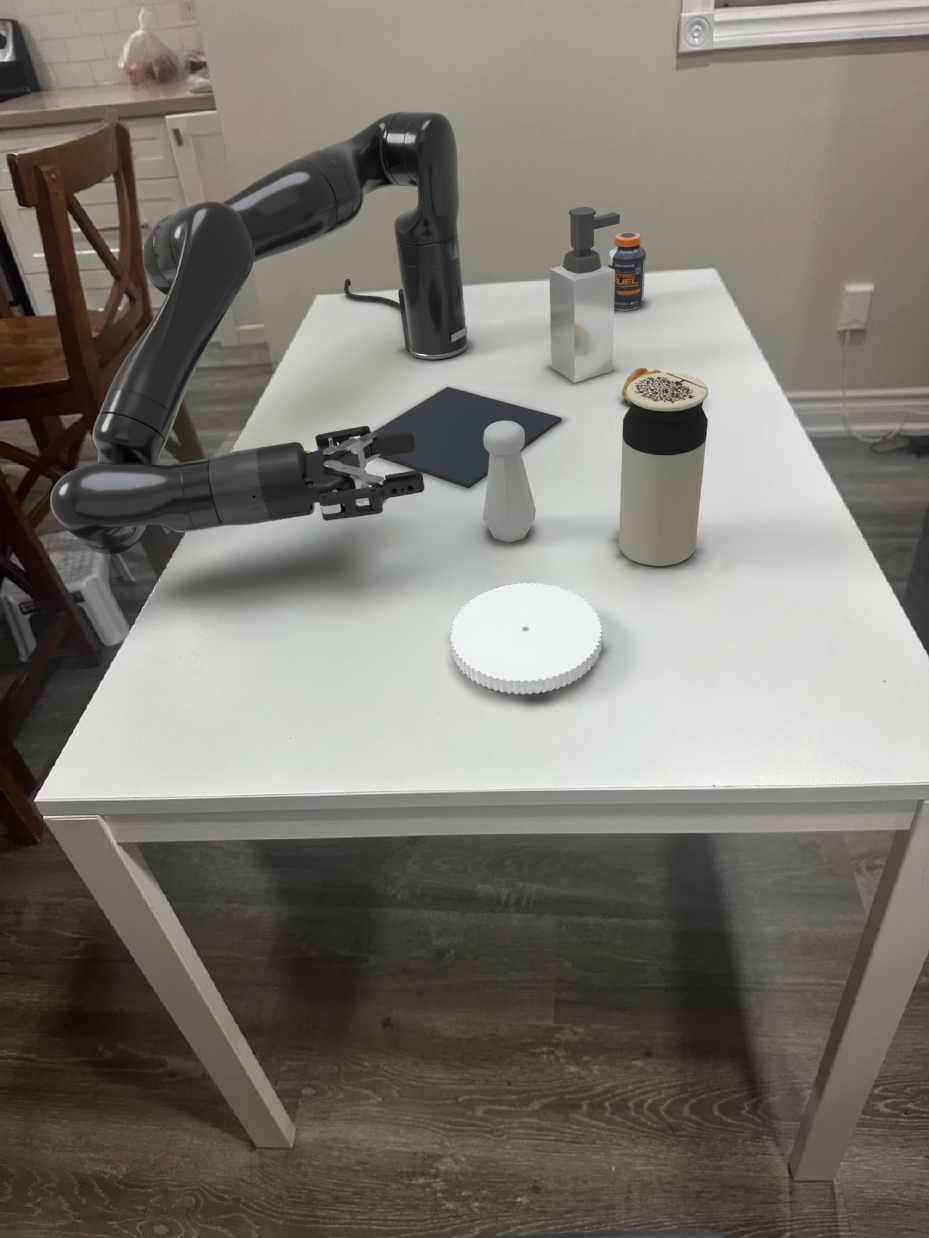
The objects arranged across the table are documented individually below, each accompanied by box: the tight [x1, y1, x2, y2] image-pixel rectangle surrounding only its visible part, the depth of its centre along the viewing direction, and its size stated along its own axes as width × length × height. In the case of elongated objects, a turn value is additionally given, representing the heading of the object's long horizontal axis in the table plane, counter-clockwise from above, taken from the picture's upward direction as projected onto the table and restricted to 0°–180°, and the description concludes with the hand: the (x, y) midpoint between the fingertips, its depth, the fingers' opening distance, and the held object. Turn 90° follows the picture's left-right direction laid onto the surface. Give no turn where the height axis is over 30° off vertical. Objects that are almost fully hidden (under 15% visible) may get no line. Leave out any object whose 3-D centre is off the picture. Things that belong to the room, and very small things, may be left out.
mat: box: [364, 386, 562, 489], centre depth 116 cm, size 20×20×1 cm
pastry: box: [621, 367, 663, 404], centre depth 116 cm, size 9×7×4 cm
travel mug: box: [618, 372, 709, 567], centre depth 86 cm, size 8×8×18 cm
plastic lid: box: [449, 582, 603, 695], centre depth 81 cm, size 14×14×2 cm
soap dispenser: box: [548, 206, 621, 384], centre depth 121 cm, size 6×9×22 cm
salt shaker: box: [482, 421, 537, 543], centre depth 93 cm, size 6×6×13 cm
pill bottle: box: [608, 231, 647, 312], centre depth 142 cm, size 6×6×11 cm
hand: (418, 459), depth 89 cm, fingers open, 8 cm apart
